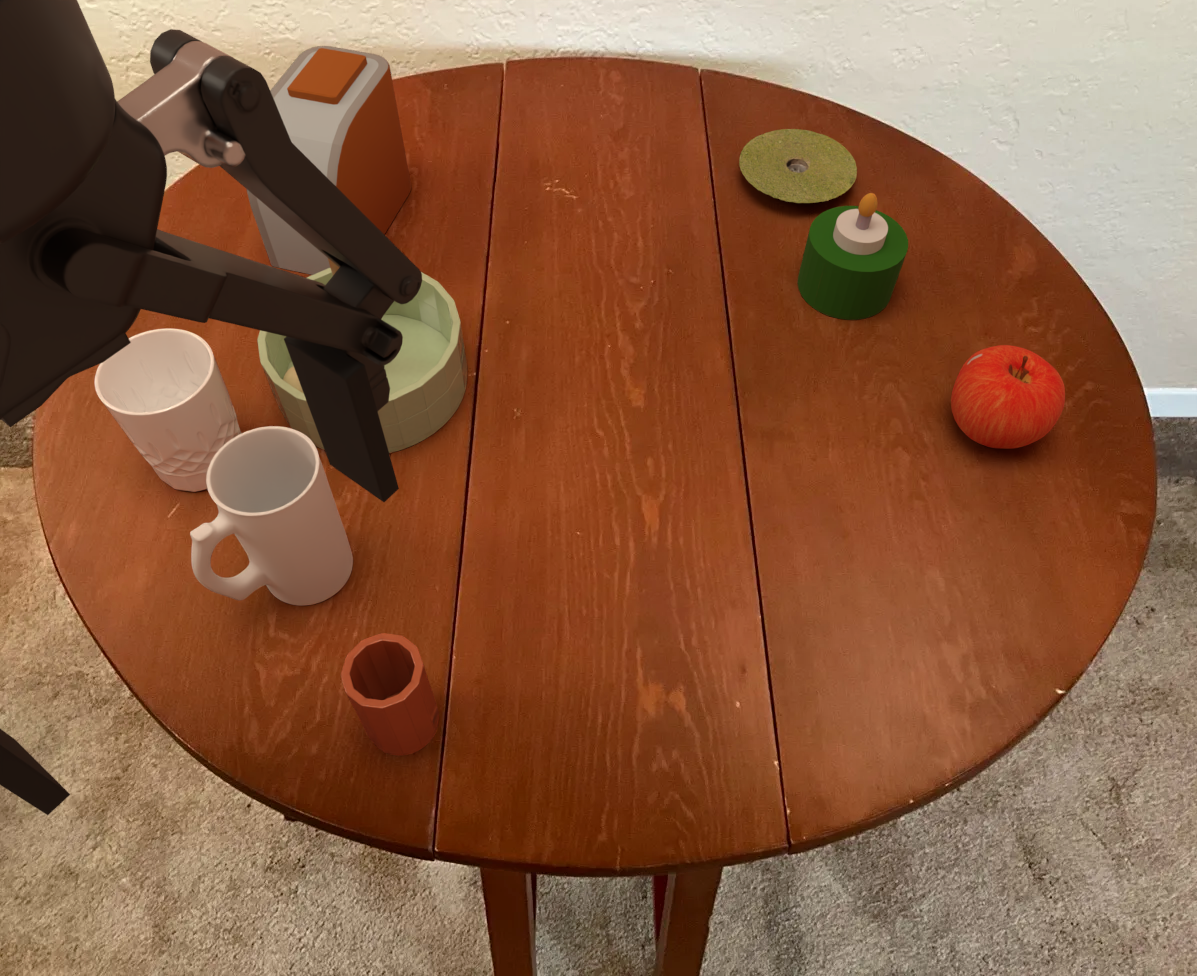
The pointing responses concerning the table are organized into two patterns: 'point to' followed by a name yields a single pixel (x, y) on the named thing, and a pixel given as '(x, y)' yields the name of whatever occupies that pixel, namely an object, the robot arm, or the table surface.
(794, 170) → the mat
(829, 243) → the candle
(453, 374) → the bowl
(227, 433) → the white cup
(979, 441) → the apple
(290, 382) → the dough ball
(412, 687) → the crock
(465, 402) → the table surface
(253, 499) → the mug
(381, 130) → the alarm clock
